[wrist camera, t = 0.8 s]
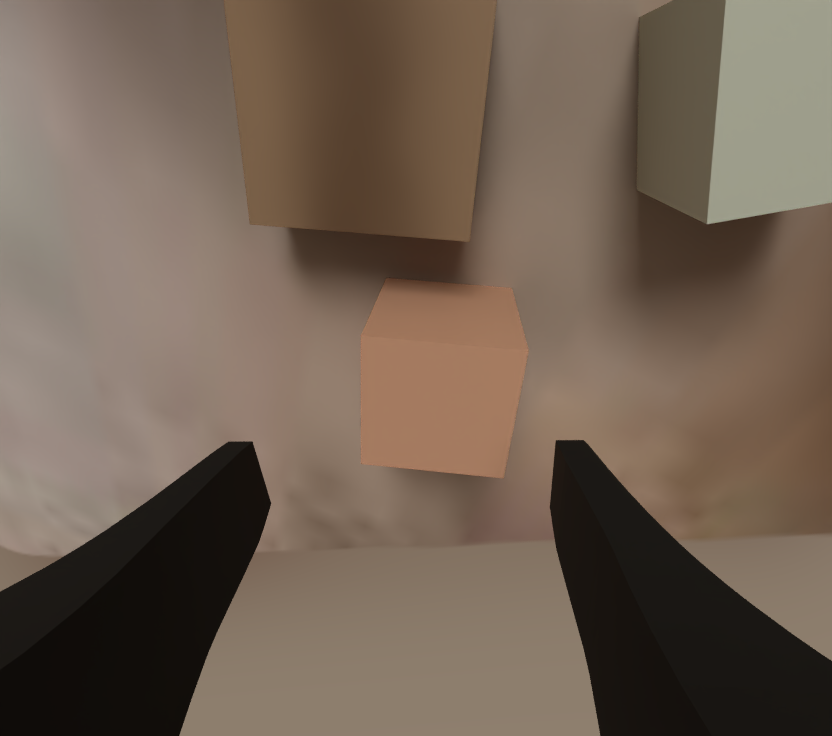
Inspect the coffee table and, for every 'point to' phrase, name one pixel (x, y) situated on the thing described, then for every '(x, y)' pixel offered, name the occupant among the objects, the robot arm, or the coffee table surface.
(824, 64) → the sage cube
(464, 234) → the walnut base
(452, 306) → the terracotta cube
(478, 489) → the coffee table surface
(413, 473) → the coffee table surface
